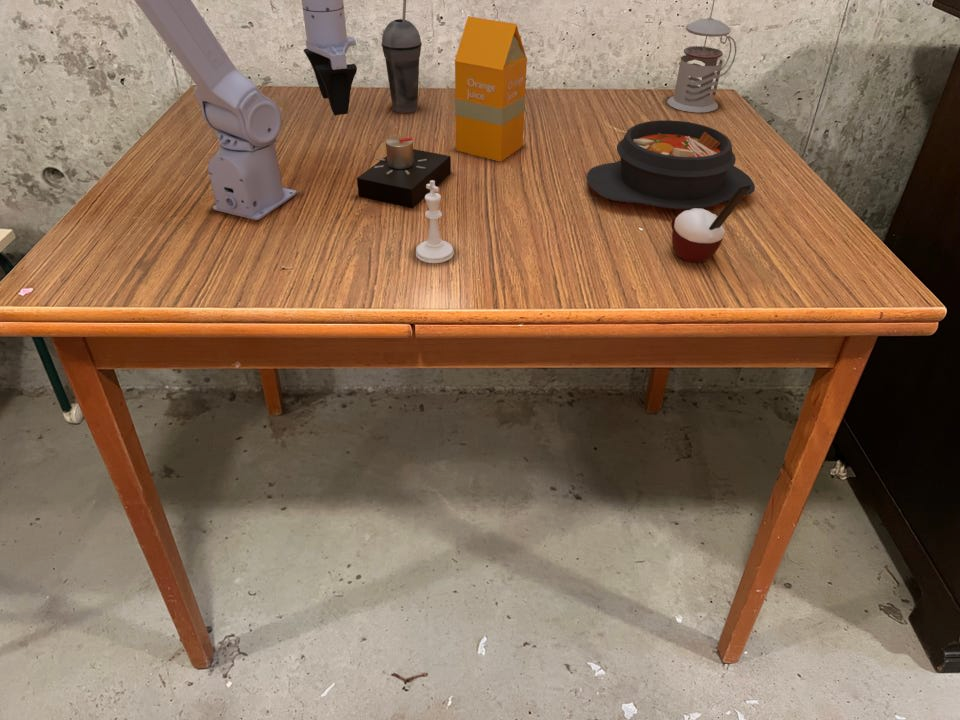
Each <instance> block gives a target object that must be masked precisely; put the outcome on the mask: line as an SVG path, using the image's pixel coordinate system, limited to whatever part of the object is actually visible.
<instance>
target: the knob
mask: <svg viewBox="0 0 960 720" xmlns="http://www.w3.org/2000/svg"><path fill="white" fill-rule="evenodd" d="M413 149H414V140H413V137H412V136H403V135H399V136H398V135H397V136H392V137H389V138H387V139H386V140H385V151H386V156H387V164H388V166H389V167H391V168H394V169H406V168H410V167H412V166H413V165H414V151H413Z"/></svg>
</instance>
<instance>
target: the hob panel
mask: <svg viewBox="0 0 960 720" xmlns="http://www.w3.org/2000/svg"><path fill="white" fill-rule="evenodd" d="M413 151H414V165H413V166H412V167H410V168H406V169H394V168H391V167H389V166H388V164H387V155H385V156H384V157H383V158H380V157H379V158H378V157H377V158H376V161H377V162H376V163H375V164H373V165H372V166H371V167H370V168H369V169H367V170H365V171H364V172H363V173H361V174H360V175H359V176H357V177H356V184H357V185H356V186H357V194H358V195H357V196H358V198H362V199H367V200H372V201H375V202H380V203H385V204H389V205H395V206H399V207H404V208H408V209H414V208H415V207H416V206H417V205H418V204H419V203H420V202H422V201H423V200H425V195H426V194H428V193H430V189H427V188H426V185H427V184H430V181H431V180H433V181H435V186H436V187H438V186H439V185H441V184H442V183H443V182H444V181H445V180H446V179H448V177H450V176H451V175H452V165H451V164H452V163H451V162H452V161H451V159H452V158H451V155H448V154H447V155H446V154H442V153H436V152H431V151H425V150H421V149H417V148H416V149H415V148H413Z"/></svg>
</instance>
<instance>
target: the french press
mask: <svg viewBox="0 0 960 720" xmlns="http://www.w3.org/2000/svg"><path fill="white" fill-rule="evenodd" d="M715 1H716V0H713V1H712V5H711V10H710V15H709V17H707V18H699V19H696V20H693V21H691V22H690V23H688V24H686V25H685V30H686V31H687V32H688V33H689V34H693V35H694V36H700V37H701V36H702V37H705V40H704V45H701V46H700V45H693V46H687V47H686V48H684V49H683V54H684V55H682V56H680V61H679V66H678V71H677V76H676V82H675V87H674V92H673V95H672V96H670V97H669V98H668V99H667V101H666V102H667V104H668V105H669V106H670V107H672V108H674V109H676V110H678V111H679V110H680V111H683V112H688V113H689V112H690V113H709V112H714V111H716V110H718V108H719V104H718V102H717V101H716V100H715V98H716V93H717V89H718V84H719V79H720V78H721V77H723V76H724V75H726V74H727V73H728V72H729V70H731V68H732V66H733V64H734V62H735V58H736V55H737V43H736V41H735V39H734V37H731V35H730V33H731V30H732V29H731V28H730V27H729V26H728V25H727V24H726V23H724V22H723V21H721V20H718V19H715V18H713V17H712V14H713V10H714V6H715ZM708 37H711V38H713V37H714V38H717V37H719V38H720V39H719V42H720V43H721V44H723V45H726V43H727V40H728V42H729V52H728V56H727V59H726V61H725V63H724V65H723V60H722V59H720V58H722V57H723V55H724V52H723V51H722V50H721V49H720V48H715V47H711V46H706V44H707V39H708ZM723 37H726V38H725V39H724V41H722V40H723ZM732 43H733V45H734V54H733V58H732V61H731V63H730V65H729V66H728V68H727V70H725V71H724V72H722V70H723V69H724V68H725V67H726V65H727V64H728V62H729V60H730V57H731V53H732ZM718 60H719V63H718ZM692 61H699V62H700V63H701V62H702V63H703V64H704V65H701V64H699V63H695V62H693V63H688V62H692ZM699 78H701V79H699ZM712 87H713V88H712ZM711 93H712V94H711Z"/></svg>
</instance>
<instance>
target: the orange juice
mask: <svg viewBox="0 0 960 720" xmlns="http://www.w3.org/2000/svg"><path fill="white" fill-rule="evenodd" d="M527 63H528V56H527V54H526V52H525V48H524V45H523V41H522V38H521V35H520V31H519V28H518V24H517V23H514V22H513V23H512V22H507V21H501V20H494V19H489V18H488V19H487V18H482V17H475V16H468V15H467V17H466V21H465V24H464V28H463V31H462V36H461V38H460V42H459V44H458V48H457V51H456V55H455V58H454V92H455V93H454V96H455V97H454V116H455V151H457V152H460V153H465V154H468V155H472V156H476V157H479V158H484V159H488V160H493V161H496V162H500V163H501V162H502V161H504V160H505V159H507V158H509V157H510V156H511V155H513V154H514V153H516V152H518V150H520V149H521V148H523V144H524V143H523V141H524V140H523V139H524V124H525V122H524V121H525V109H526V108H525V107H526V86H527V85H526V84H527V65H528V64H527Z"/></svg>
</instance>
